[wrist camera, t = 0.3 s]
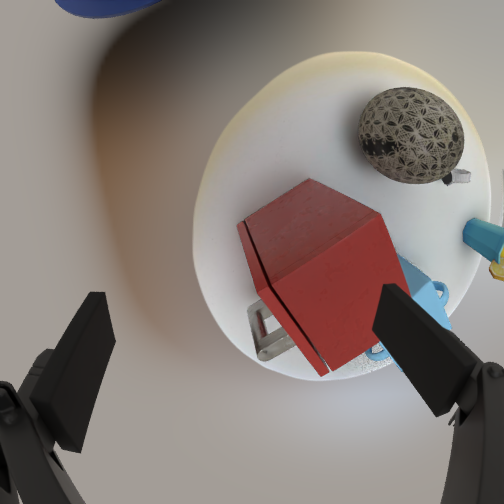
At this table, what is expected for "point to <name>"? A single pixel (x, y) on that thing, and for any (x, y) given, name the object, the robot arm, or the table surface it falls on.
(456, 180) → the wristwatch
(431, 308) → the teapot
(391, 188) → the table surface
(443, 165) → the decorative egg
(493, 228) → the cup
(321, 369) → the cabinet door
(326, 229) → the red cabinet body
